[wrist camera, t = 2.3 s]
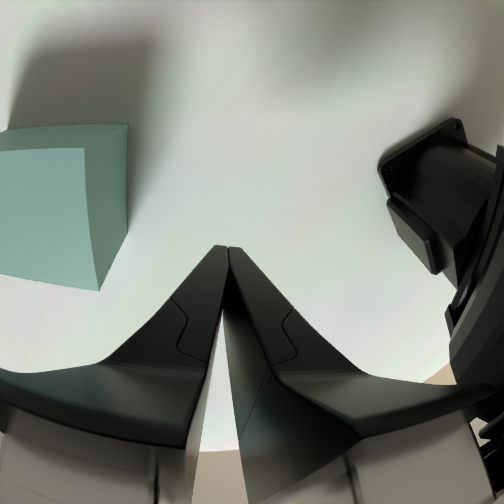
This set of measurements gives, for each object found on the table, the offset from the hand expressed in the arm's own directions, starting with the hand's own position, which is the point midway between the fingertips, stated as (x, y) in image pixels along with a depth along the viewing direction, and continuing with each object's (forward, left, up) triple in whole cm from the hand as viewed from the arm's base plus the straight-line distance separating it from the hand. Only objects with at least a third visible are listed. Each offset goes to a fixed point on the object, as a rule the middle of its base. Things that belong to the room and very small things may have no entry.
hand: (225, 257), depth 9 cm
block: (+6, -6, -6) cm, 11 cm away
